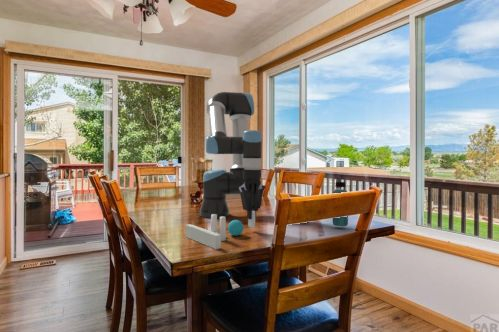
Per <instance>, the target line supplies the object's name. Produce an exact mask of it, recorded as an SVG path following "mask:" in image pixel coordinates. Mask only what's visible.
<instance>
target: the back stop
mask: <svg viewBox="0 0 499 332" xmlns="http://www.w3.org/2000/svg"><path fill="white" fill-rule="evenodd" d="M217 233H218V232H217ZM217 233H214V232H211V230H210V229H209V230H208V229H205V228H204V227H203V228H202V227H200V226H196V225H193V224H192V223H191V224H190V223H189V224H188V223H187V224H185V237H186V238H187V239H188V238H189V239H190V240H193V241H196V242H197V243H200V244H203V245H204V246H207V247H209V248H212V249H214V250H218V249H221V248H222V246H221V245H222V241H221V235H220V234H217Z"/></svg>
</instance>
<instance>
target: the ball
mask: <svg viewBox="0 0 499 332" xmlns="http://www.w3.org/2000/svg"><path fill="white" fill-rule="evenodd" d="M227 230H228V232H229V234H230V235H231V236H234V237H235V236H236V237H237V236H240V235H241V234H242V233H243V232H244V224H243V222H242V221H240V220H239V219H233V220H232V221H230V222H229V223H228V226H227Z"/></svg>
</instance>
